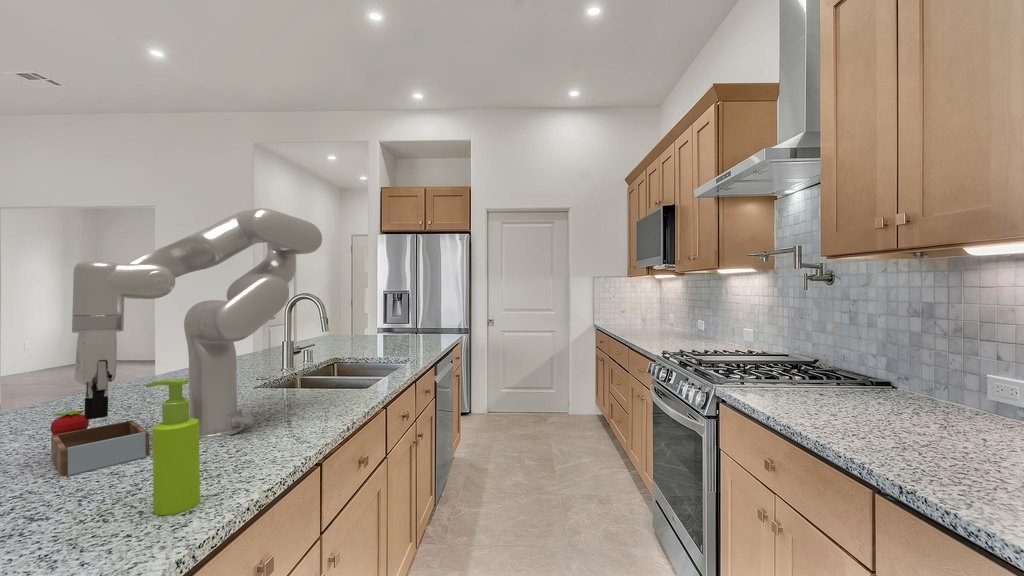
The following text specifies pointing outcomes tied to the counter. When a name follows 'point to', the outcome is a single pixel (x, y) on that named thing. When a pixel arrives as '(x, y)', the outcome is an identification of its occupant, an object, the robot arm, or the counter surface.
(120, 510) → the counter surface
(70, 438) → the crate
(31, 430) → the counter surface
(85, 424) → the strawberry
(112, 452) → the panel
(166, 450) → the soap dispenser
